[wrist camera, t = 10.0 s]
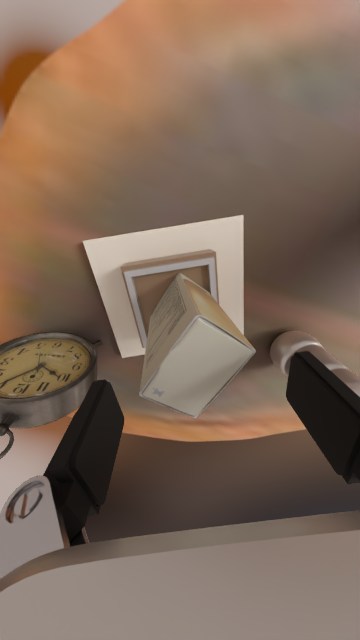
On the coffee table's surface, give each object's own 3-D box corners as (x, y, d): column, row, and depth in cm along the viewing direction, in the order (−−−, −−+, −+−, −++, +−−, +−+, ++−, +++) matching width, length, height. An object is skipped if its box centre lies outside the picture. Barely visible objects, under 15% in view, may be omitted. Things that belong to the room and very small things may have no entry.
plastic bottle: (256, 353, 31) (387, 529, 13) (283, 318, 28) (492, 473, 10) (286, 366, 32) (441, 538, 14) (314, 334, 30) (542, 492, 12)
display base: (240, 215, 22) (258, 211, 18) (241, 334, 29) (254, 353, 25) (85, 240, 22) (66, 242, 18) (123, 354, 29) (116, 375, 25)
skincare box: (180, 333, 24) (194, 424, 12) (149, 315, 22) (133, 400, 11) (212, 290, 22) (261, 352, 10) (179, 268, 20) (197, 314, 9)
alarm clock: (109, 333, 27) (46, 452, 13) (108, 363, 30) (53, 495, 15) (25, 322, 26) (-158, 444, 11) (30, 355, 28) (-117, 494, 13)
